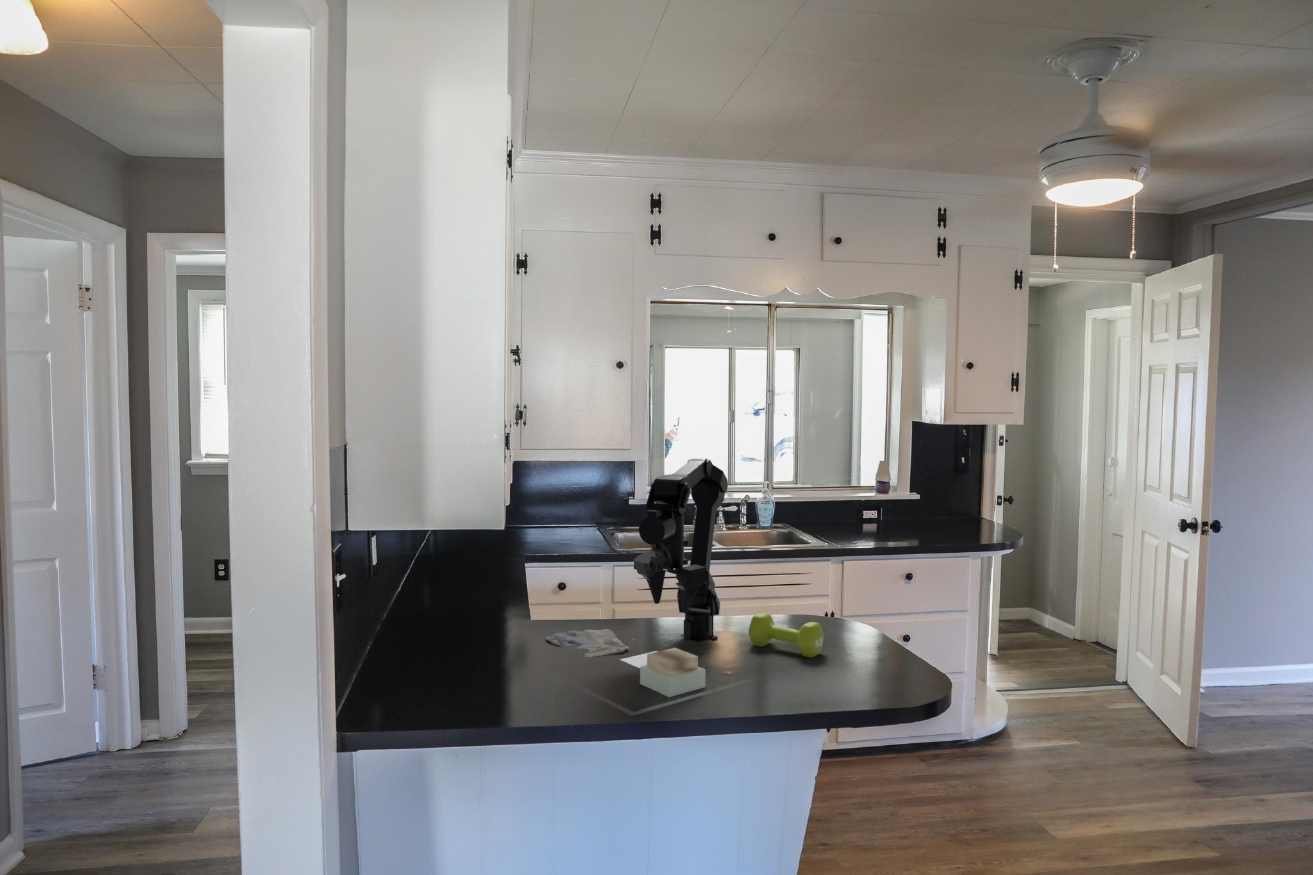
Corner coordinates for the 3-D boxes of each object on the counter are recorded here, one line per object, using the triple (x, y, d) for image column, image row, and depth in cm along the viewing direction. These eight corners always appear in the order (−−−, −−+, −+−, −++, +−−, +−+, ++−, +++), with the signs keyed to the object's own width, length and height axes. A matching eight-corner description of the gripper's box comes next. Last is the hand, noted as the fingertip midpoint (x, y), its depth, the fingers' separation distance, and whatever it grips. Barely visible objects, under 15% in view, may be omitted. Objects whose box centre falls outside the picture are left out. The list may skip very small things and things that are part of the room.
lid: (674, 659, 166) (674, 647, 166) (697, 669, 161) (697, 656, 161) (646, 666, 162) (647, 654, 162) (669, 676, 156) (669, 663, 156)
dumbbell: (744, 647, 189) (745, 615, 188) (763, 639, 195) (763, 609, 195) (810, 662, 179) (810, 628, 178) (827, 653, 185) (827, 621, 185)
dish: (675, 677, 168) (675, 657, 168) (705, 689, 161) (705, 669, 160) (640, 686, 162) (640, 666, 162) (669, 700, 155) (669, 678, 155)
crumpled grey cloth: (632, 657, 182) (632, 646, 182) (565, 665, 177) (565, 654, 177) (608, 635, 199) (608, 625, 199) (546, 641, 193) (546, 631, 193)
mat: (656, 653, 183) (656, 650, 183) (685, 665, 175) (685, 662, 175) (619, 662, 177) (619, 659, 177) (648, 674, 169) (648, 671, 169)
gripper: (613, 534, 178) (614, 605, 179) (669, 547, 164) (669, 625, 165) (654, 527, 185) (654, 596, 186) (711, 540, 171) (711, 615, 172)
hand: (670, 608), depth 177 cm, fingers open, 9 cm apart
